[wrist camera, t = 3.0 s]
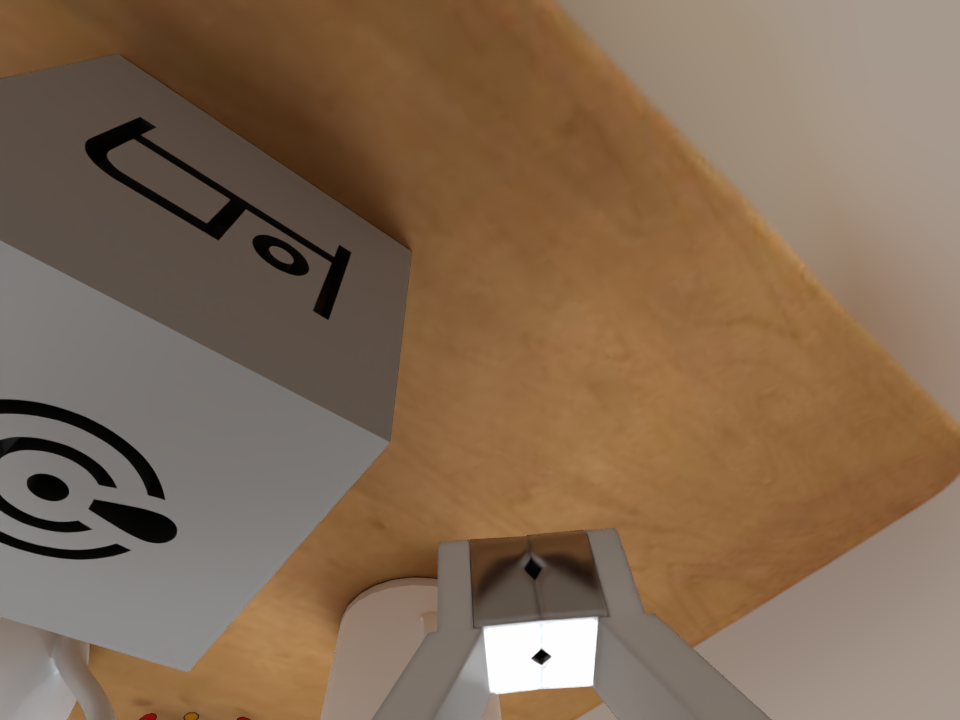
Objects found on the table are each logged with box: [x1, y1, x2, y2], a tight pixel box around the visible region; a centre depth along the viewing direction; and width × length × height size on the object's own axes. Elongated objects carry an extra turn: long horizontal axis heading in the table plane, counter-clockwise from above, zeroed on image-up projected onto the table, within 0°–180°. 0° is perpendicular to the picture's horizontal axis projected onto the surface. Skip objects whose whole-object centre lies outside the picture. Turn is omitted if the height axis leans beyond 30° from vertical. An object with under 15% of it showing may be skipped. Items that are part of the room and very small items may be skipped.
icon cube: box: [0, 54, 412, 672], centre depth 16 cm, size 10×10×10 cm
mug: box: [320, 577, 501, 720], centre depth 27 cm, size 11×9×10 cm
